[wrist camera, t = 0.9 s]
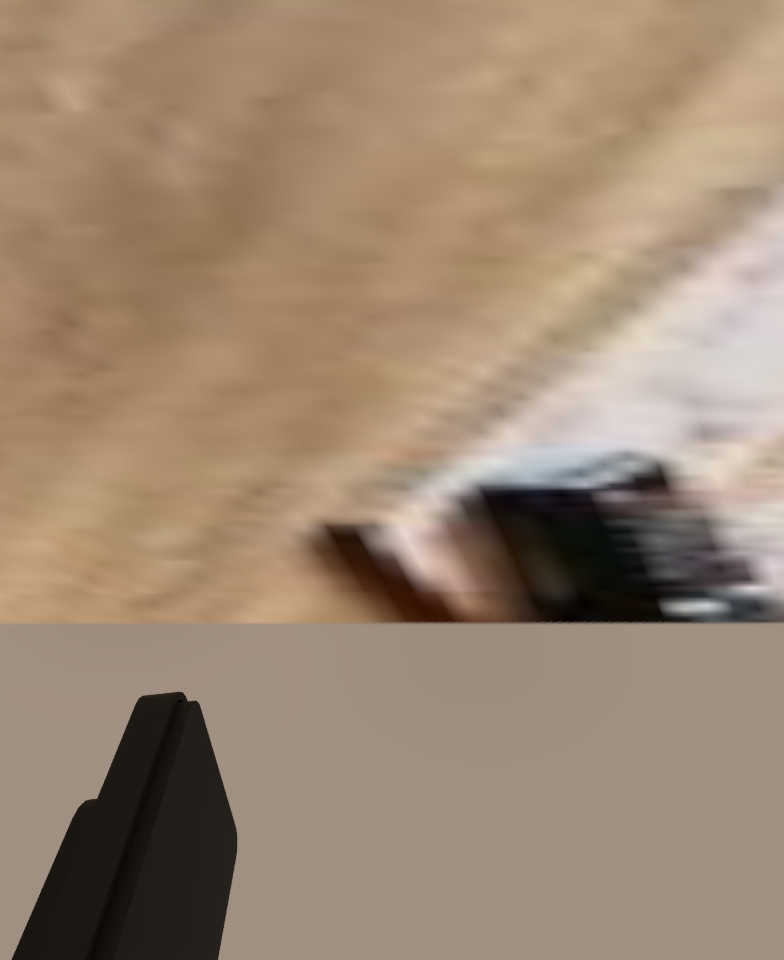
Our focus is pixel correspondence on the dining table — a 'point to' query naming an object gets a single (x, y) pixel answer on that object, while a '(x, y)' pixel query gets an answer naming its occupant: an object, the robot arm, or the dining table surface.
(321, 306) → the dining table surface
